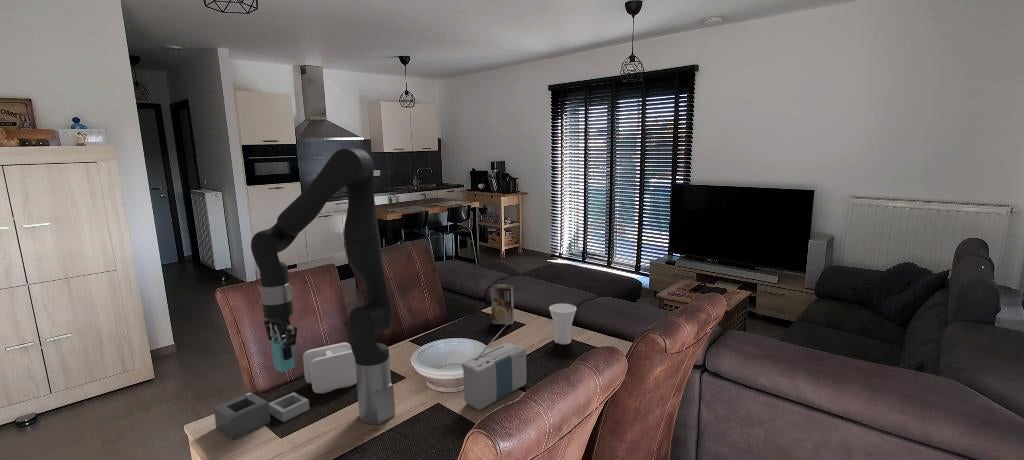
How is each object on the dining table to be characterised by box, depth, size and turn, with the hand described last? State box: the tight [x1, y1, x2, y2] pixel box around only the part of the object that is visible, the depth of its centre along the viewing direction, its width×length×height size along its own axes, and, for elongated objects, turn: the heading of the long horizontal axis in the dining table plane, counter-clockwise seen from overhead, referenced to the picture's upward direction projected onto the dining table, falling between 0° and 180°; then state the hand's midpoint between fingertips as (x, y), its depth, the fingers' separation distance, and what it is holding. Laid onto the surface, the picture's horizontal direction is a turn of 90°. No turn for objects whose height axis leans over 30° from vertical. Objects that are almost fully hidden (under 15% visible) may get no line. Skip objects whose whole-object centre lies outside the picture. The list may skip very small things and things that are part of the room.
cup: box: [548, 303, 577, 345], centre depth 185 cm, size 10×10×14 cm
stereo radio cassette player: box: [461, 324, 527, 411], centre depth 145 cm, size 21×8×20 cm, turn 137°
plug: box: [271, 334, 296, 373], centre depth 137 cm, size 4×4×10 cm
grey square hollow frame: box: [269, 391, 310, 423], centre depth 140 cm, size 8×8×3 cm
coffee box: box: [490, 283, 515, 325], centre depth 207 cm, size 9×6×16 cm
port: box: [213, 392, 272, 440], centre depth 133 cm, size 10×10×6 cm
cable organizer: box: [302, 342, 357, 394], centre depth 155 cm, size 15×11×12 cm
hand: (283, 356), depth 137 cm, fingers closed on plug, 4 cm apart
